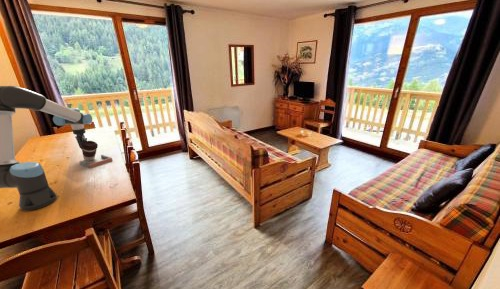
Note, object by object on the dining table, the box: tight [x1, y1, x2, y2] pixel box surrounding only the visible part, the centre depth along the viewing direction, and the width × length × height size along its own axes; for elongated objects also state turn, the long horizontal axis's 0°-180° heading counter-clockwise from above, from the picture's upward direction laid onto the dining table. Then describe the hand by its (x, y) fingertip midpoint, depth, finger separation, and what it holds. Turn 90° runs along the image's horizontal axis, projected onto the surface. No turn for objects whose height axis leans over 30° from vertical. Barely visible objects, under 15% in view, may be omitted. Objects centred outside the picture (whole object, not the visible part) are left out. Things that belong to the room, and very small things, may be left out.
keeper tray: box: [79, 154, 113, 169], centre depth 162 cm, size 16×14×2 cm
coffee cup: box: [81, 140, 98, 161], centre depth 163 cm, size 10×10×15 cm
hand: (86, 156), depth 169 cm, fingers closed
